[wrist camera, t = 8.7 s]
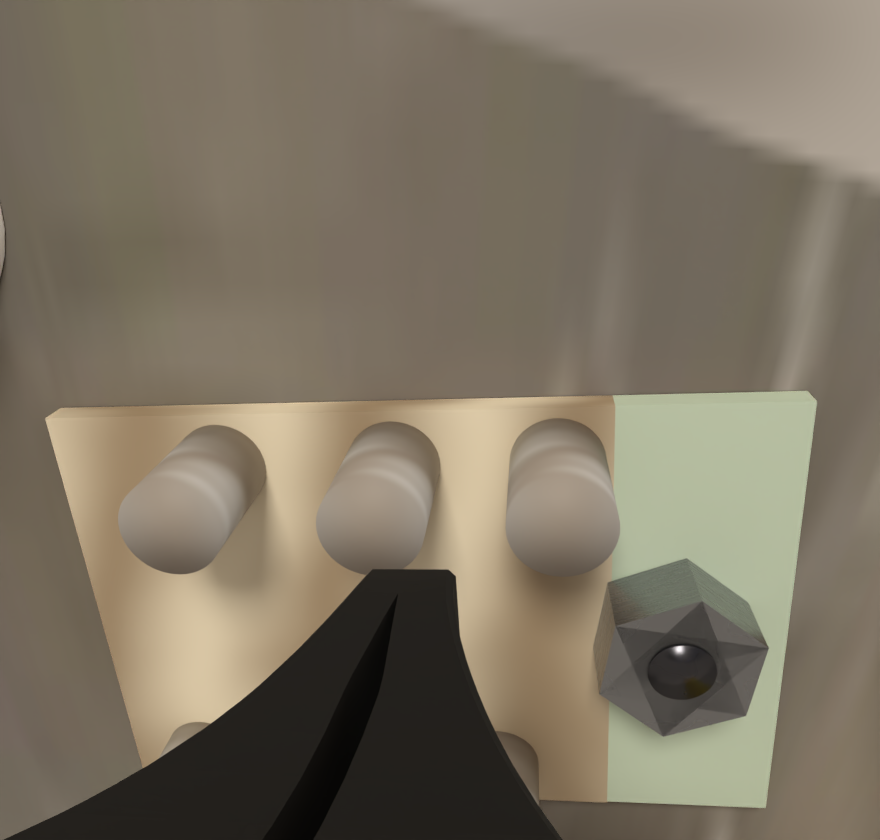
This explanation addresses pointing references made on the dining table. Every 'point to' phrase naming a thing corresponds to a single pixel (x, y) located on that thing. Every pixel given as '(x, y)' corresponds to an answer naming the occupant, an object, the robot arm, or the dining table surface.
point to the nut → (677, 648)
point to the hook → (2, 241)
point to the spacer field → (352, 551)
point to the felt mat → (711, 566)
